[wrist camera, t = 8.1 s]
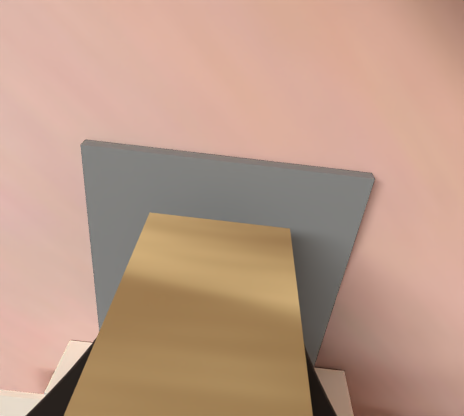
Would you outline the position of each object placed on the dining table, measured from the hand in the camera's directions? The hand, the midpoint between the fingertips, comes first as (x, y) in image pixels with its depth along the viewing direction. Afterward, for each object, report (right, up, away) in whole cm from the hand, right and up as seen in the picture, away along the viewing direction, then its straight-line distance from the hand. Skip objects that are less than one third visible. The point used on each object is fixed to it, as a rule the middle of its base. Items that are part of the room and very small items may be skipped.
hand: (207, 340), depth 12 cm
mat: (0, +2, +3) cm, 3 cm away
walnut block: (0, +1, +1) cm, 1 cm away
